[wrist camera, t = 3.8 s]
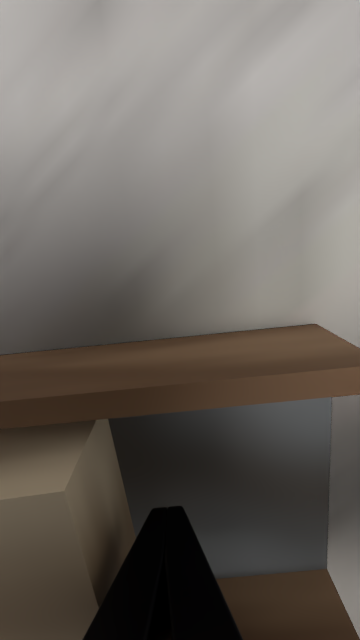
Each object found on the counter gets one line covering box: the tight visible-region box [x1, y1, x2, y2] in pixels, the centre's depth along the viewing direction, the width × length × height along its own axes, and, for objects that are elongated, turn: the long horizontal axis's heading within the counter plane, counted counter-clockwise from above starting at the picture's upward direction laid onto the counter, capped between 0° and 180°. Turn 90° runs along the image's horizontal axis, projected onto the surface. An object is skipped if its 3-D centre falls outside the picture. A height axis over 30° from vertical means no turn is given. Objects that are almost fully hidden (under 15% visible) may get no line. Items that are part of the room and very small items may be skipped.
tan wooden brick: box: [0, 419, 136, 640], centre depth 7 cm, size 6×2×3 cm, turn 8°
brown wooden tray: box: [0, 324, 360, 640], centre depth 8 cm, size 9×18×4 cm, turn 96°
